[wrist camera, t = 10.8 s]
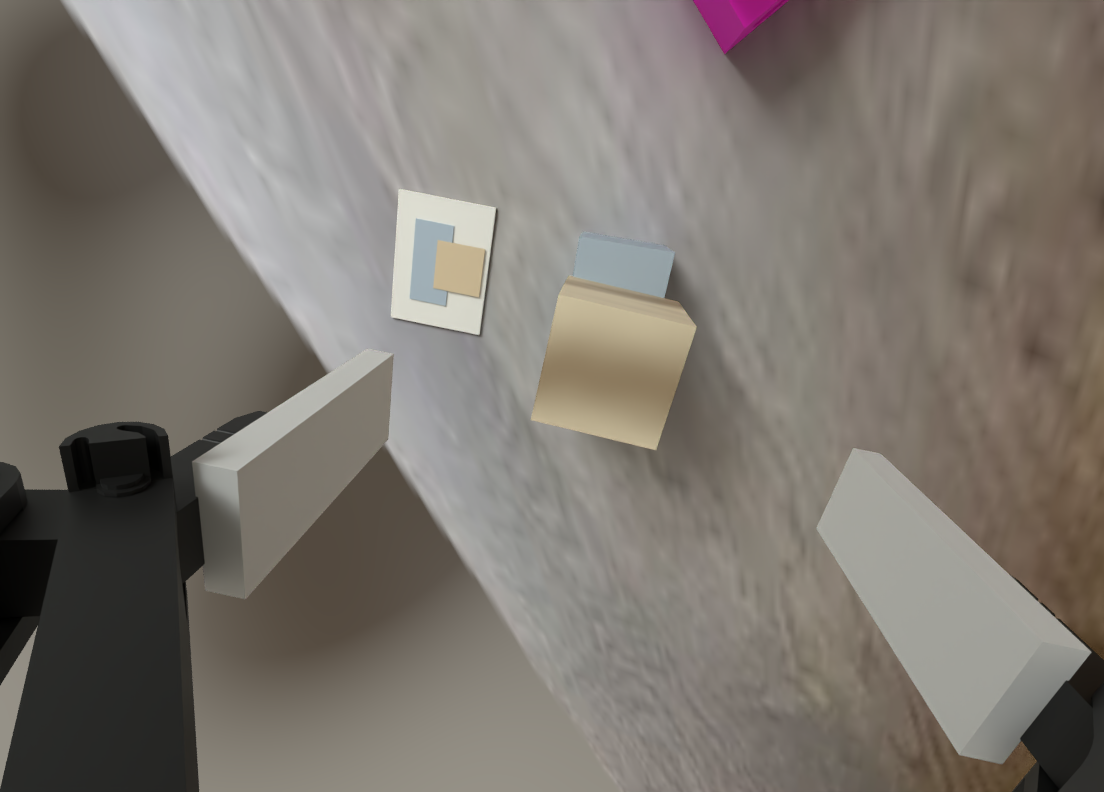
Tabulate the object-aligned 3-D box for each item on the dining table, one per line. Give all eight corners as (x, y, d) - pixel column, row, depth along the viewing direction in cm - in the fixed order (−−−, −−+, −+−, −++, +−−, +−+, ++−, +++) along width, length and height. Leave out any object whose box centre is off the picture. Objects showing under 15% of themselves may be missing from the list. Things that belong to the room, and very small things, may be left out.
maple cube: (568, 275, 27) (558, 294, 22) (678, 301, 27) (696, 326, 22) (545, 378, 29) (530, 419, 24) (646, 403, 29) (655, 450, 24)
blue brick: (583, 231, 31) (579, 236, 26) (664, 245, 31) (675, 252, 26) (557, 383, 35) (550, 411, 30) (630, 396, 35) (634, 426, 30)
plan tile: (400, 188, 31) (397, 188, 31) (496, 207, 31) (495, 207, 31) (391, 316, 34) (389, 317, 34) (479, 334, 34) (478, 335, 33)
